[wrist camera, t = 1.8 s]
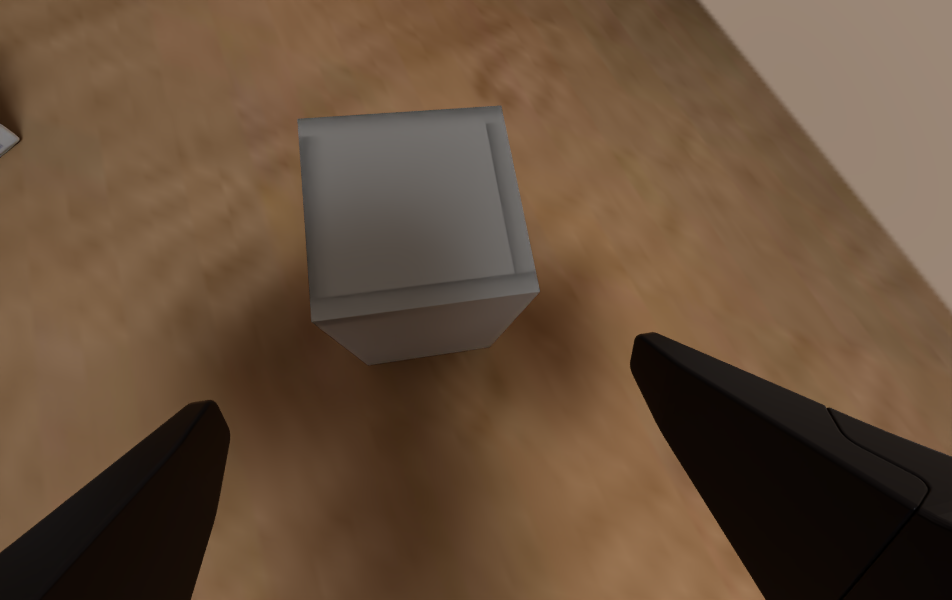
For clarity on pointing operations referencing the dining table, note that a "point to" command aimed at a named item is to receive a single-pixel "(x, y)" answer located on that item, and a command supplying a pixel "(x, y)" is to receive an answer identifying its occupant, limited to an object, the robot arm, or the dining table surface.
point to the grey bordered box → (414, 231)
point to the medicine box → (6, 139)
